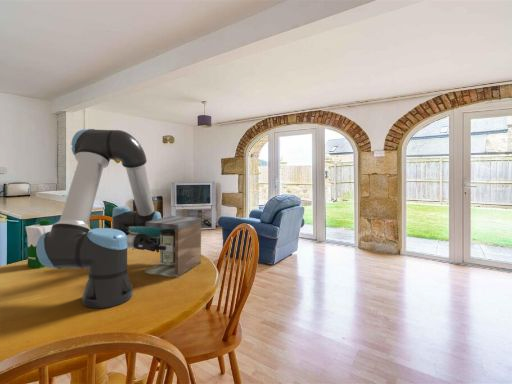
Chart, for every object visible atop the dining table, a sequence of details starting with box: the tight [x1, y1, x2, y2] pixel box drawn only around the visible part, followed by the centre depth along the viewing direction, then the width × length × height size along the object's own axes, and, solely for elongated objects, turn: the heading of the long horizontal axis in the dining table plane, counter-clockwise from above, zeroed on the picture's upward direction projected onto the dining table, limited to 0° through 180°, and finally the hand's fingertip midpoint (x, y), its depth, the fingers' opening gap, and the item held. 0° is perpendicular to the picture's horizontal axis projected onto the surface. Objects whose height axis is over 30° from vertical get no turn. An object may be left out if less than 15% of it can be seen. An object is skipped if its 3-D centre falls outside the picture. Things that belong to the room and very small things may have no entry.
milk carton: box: [25, 219, 53, 269], centre depth 127 cm, size 9×9×20 cm
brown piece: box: [144, 215, 202, 278], centre depth 128 cm, size 16×20×22 cm
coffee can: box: [159, 229, 175, 265], centre depth 128 cm, size 10×10×14 cm
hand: (179, 245), depth 127 cm, fingers closed on coffee can, 10 cm apart
